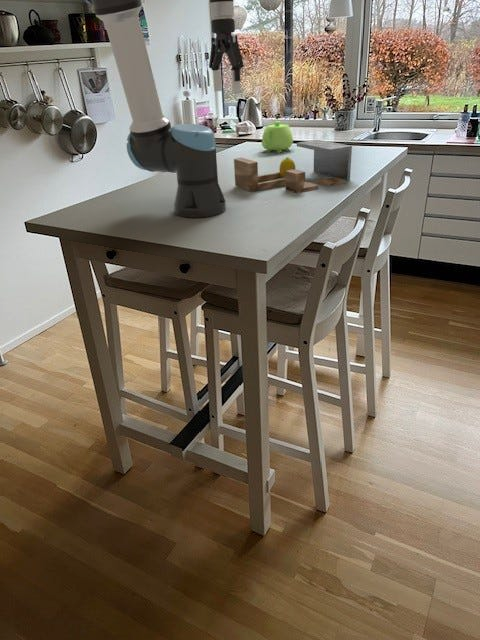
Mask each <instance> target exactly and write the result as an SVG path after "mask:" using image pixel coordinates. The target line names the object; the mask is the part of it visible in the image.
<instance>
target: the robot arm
mask: <svg viewBox="0 0 480 640" xmlns="http://www.w3.org/2000/svg"><path fill="white" fill-rule="evenodd" d="M84 1H85V2H86V3H87V4H88V5H90V6H92V7H93V10H94V13H95V17H96V18H98V19H99V20H100V21H102V22H103V23H104V25H105V29H106V33H107V35H108V36H107V37H108V39H109V43H110V47H111V50H112V53H113V56H114V60H115V64H116V68H117V72H118V74H119V78H120V81H121V84H122V87H123V88H122V89H123V91H124V95H125V99H126V103H127V106H128V109H129V113H130V116H131V118H132V122H131V124H130V126H129V134H128V135H127V139H126V141H127V143H126V152H127V154H128V157H129V159H130V161H131V162H132V163H133V165H135V167H137V168H139V169H140V170H143V171H148V172H151V173H154V172H159V173H176V179H177V189H176V193H175V199H174V202H173V205H174V206H173V208H174V214H175V215H177V216H179V217H182V218H193V219H195V218H207V217H213V216H216V215H219V214H222V213H224V212H225V211H226V209H227V207H226V205H227V204H226V199H225V196H224V194H223V192H222V190H221V186H220V183H219V178H218V176H219V175H218V161H217V160H218V159H217V143H216V139H215V133H214V131H213V130H212V129H211V128H210V127H208V126H206V125H202V124H195V123H191V124H189V123H179V124H174V125H173V126H172V124H171V121H170V118H169V117H167V116H166V115H164V113H163V110H162V106H161V102H160V98H159V93H158V90H157V86H156V81H155V79H154V74H153V70H152V66H151V62H150V58H149V54H148V49H147V45H146V42H145V37H144V33H143V30H142V29H143V28H142V25H141V21H140V17H139V14H140V12H141V10H142V8H143V5H142V0H84ZM234 2H235V1H234V0H209V8H210V18H211V19H212V20H210V21H211V23H210V24H211V33H213V34H215V36H213V37H211V40H210V41H211V46H210V55H209V63H208V67H209V69H211V70H212V78H213V91H214V92H222V91H223V86H222V72H221V71H222V68H221V65H222V61H223V58H224V54H226V56H227V58H228V61H229V63H230V66H231V69H230V71H231V89H232V93H233V94H236V93H241V91H242V90H241V70H242V68H244V67H245V63H244V61H243V57H242V53H241V50H240V44H239V40H238V35H237V34H232V33H234V32H236V23H235V21H236V20H235V19H234V17H235V3H234Z"/></svg>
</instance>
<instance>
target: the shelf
mask: <svg viewBox="0 0 480 640" xmlns="http://www.w3.org/2000/svg"><path fill="white" fill-rule="evenodd" d="M296 147H298V148H304V149H308V150H313V172H314V173H318V174H322V175H325V176H329V177H336V178H339V179H343V180H345V181H346V182H348V181H350V180H351V170H352V169H351V167H352V166H351V165H352V155H353V154H352V149H353V146H352V145H349V144H344V143H337V142H332V141H327V140H321V139H313V140H312V139H311V140H305V141H300V142H296Z"/></svg>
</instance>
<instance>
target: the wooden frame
mask: <svg viewBox="0 0 480 640" xmlns="http://www.w3.org/2000/svg"><path fill="white" fill-rule="evenodd" d="M258 165H259V164H258V161H255V160H252V159H248V158H245V157H236V158H233V167H234V184H235V187H237V188H240V189H242V190H245V191H248V192H250V193H251V192H256V191H262V190H266V189H271V188H276V187H282V186H285V178H283V177H282V176H281V175H280V171H277V172H271V173H267V174H260V175H259V168H258ZM296 170H297V171H301V172H304V182H306V172H305V171H302V170H300V169H299V170H298V169H296Z"/></svg>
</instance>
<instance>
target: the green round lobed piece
mask: <svg viewBox="0 0 480 640" xmlns="http://www.w3.org/2000/svg"><path fill="white" fill-rule="evenodd" d="M263 131H264V132H263V135H262V136H261V137H262V139H261V146H262V147H263V148H264V149H265V153H271V152H272V150H274V151H276V153H277V154H281V153H280V152H282V153H283V151H285V150H288V149H290V148H291V147H292V145H293V144H294V138H293V134H292V131H291V129H290V123H289V124H281V121H279V120H278V121H274V122H273V124H270V125H267V126H266V127H265V128H264V130H263ZM288 151H289V150H288Z"/></svg>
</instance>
